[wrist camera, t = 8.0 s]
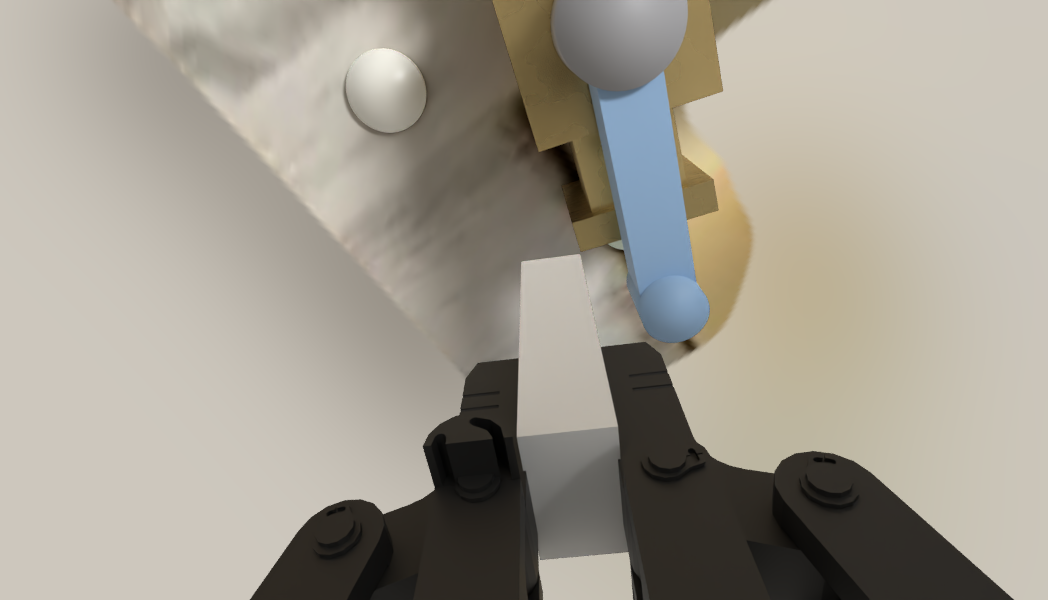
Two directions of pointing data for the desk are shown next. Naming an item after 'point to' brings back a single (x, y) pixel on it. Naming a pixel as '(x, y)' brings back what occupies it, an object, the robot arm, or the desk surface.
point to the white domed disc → (386, 90)
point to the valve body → (569, 114)
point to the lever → (639, 147)
